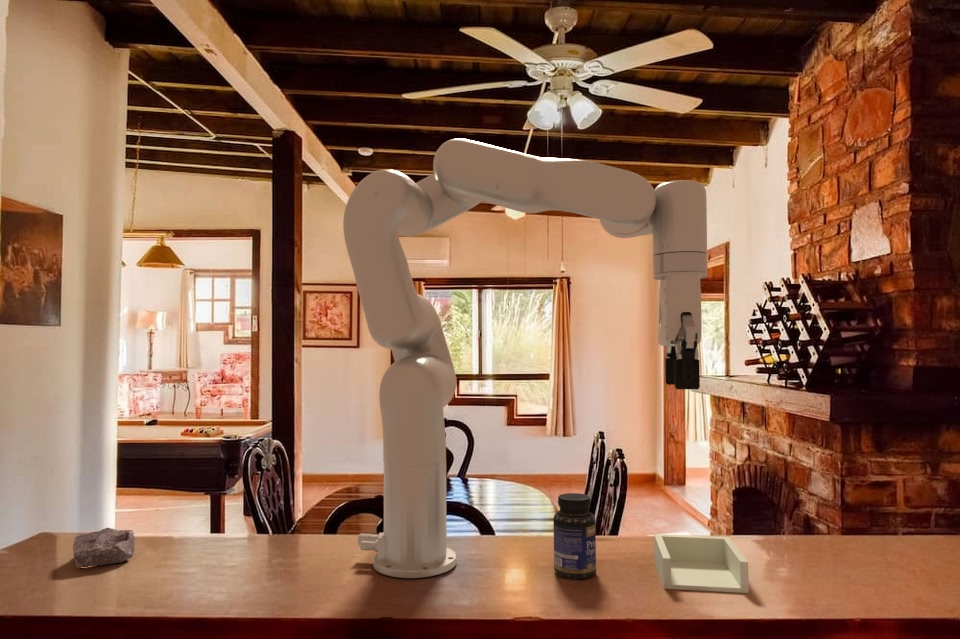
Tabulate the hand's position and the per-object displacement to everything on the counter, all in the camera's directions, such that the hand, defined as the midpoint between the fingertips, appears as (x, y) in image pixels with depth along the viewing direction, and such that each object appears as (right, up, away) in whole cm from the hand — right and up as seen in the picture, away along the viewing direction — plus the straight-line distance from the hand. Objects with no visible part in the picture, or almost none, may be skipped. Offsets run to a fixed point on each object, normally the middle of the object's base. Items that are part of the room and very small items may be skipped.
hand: (681, 386), depth 92 cm
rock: (-88, -28, +9) cm, 93 cm away
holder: (+2, -27, 0) cm, 27 cm away
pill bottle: (-15, -28, +1) cm, 31 cm away
